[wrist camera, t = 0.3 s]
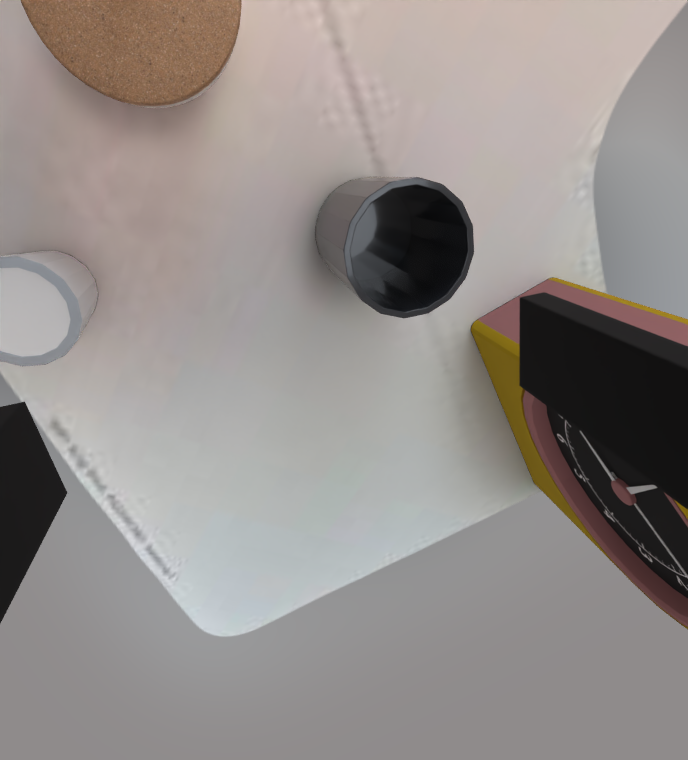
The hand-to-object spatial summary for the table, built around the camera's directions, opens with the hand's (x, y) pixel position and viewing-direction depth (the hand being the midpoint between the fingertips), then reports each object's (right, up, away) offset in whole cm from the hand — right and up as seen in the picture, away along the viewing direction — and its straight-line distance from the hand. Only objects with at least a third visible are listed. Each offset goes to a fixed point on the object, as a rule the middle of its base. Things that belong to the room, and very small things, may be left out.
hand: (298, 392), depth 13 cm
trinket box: (-11, +23, +18) cm, 31 cm away
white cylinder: (-20, +7, +23) cm, 31 cm away
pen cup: (+3, +12, +26) cm, 29 cm away
